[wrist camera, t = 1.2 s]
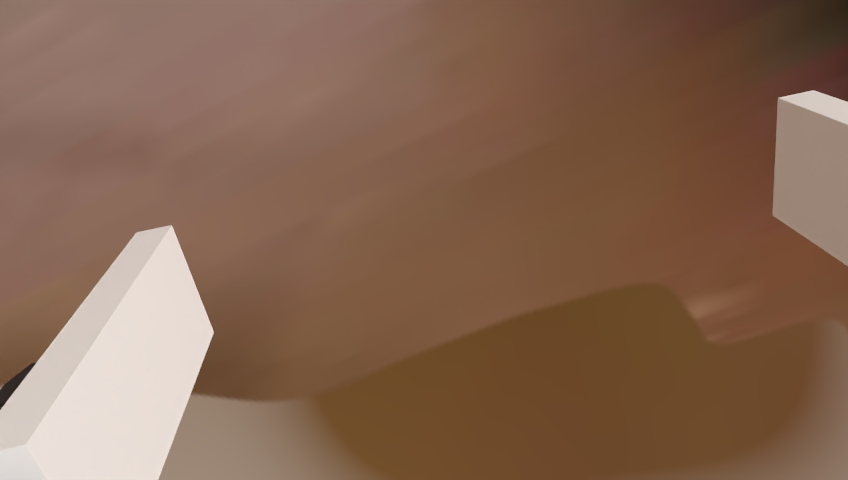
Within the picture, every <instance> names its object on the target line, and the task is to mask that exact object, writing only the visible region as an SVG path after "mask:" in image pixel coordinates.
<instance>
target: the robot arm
mask: <svg viewBox="0 0 848 480" xmlns="http://www.w3.org/2000/svg"><path fill="white" fill-rule="evenodd" d="M773 216H775V217H776V218H777V219H779V220H780V221H782V222H783V223H785V224H786V225H788V226H789V227H791V228H792V229H794V230H795V231H797V232H798V233H800V234H801V235H803V236H804V237H806V238H807V239H809V240H810V241H811V242H813V243H814V244H816V245H817V246H819V247H820V248H822V249H823V250H825V251H826V252H828V253H829V254H831V255H832V256H834V257H835V258H837V259H838V260H840V261H841V262H843V263H844V264H846V265H847V266H848V102H846V101H843V100H840V99H837V98H834V97H832V96H829V95H826V94H823V93H820V92H817V91H814V90H813V91H808V92H804V93H799V94H794V95H789V96H785V97H780V98H778V110H777V132H776V154H775V175H774V197H773ZM213 333H214V331H213V329H212V326H211V324H210V321H209V319H208V316H207V314H206V311H205V308H204V306H203V303H202V301H201V298H200V296H199V293H198V291H197V288H196V286H195V283H194V280H193V278H192V275H191V273H190V270H189V268H188V265H187V263H186V260H185V258H184V255H183V253H182V250H181V247H180V245H179V242H178V240H177V237H176V235H175V232H174V230H173V227H172V225H170V226H165V227H161V228H156V229H151V230H146V231H142V232H137V233H136V234H135V235H134V236H133V238H132V239H131V240H130V242H129V243H128V244H127V246H126V247H125V248H124V249H123V251H122V252H121V253H120V255H119V256H118V257H117V259H116V260H115V261H114V263H113V264H112V265H111V266H110V268H109V269H108V270H107V272H106V273H105V274H104V276H103V277H102V278H101V279H100V281H99V282H98V283H97V285H96V286H95V287H94V289H93V290H92V291H91V292H90V294H89V295H88V296H87V298H86V299H85V300H84V302H83V303H82V304H81V306H80V307H79V308H78V309H77V311H76V312H75V313H74V315H73V316H72V317H71V319H70V320H69V321H68V322H67V324H66V325H65V326H64V328H63V329H62V330H61V332H60V333H59V334H58V335H57V337H56V338H55V339H54V341H53V342H52V343H51V345H50V346H49V347H48V349H47V350H46V351H45V352H44V354H43V355H42V356H41V358H40V359H39V360H38V362H37V363H32V364H30V365H29V366H28V367H26V368H25V369H24V370H23V371H21V372H20V373H19V374H18V375H16V376H15V377H14V378H13V379H11V380H10V381H9V382H7V383H6V384H5V385H4V386H3V387H2V389H1V390H0V480H158V479H159V476H160V474H161V471H162V468H163V466H164V463H165V460H166V458H167V455H168V453H169V450H170V447H171V445H172V442H173V439H174V436H175V434H176V431H177V429H178V426H179V423H180V421H181V418H182V415H183V413H184V410H185V408H186V405H187V402H188V399H189V397H190V394H191V392H192V389H193V386H194V384H195V381H196V378H197V376H198V373H199V370H200V368H201V365H202V362H203V360H204V357H205V354H206V352H207V349H208V347H209V344H210V341H211V339H212V336H213Z"/></svg>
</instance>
